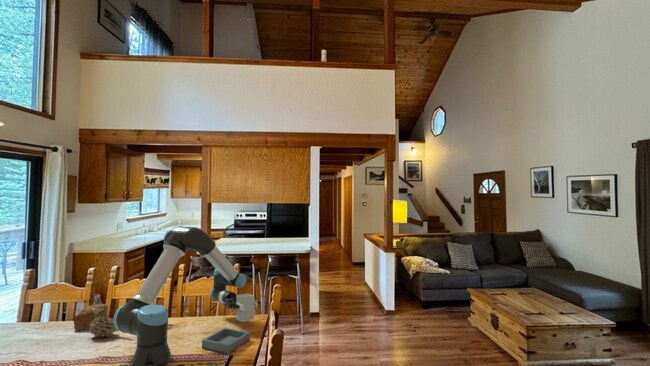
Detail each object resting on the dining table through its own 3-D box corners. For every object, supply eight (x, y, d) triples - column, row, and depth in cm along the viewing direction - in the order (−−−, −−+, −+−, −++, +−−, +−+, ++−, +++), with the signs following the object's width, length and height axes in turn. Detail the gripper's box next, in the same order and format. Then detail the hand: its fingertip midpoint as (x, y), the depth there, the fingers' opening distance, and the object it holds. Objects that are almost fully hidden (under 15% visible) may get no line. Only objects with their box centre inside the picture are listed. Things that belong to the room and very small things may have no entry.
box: (201, 348, 149) (202, 339, 149) (224, 335, 163) (224, 327, 164) (228, 354, 143) (228, 345, 143) (249, 340, 157) (249, 332, 158)
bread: (94, 329, 172) (95, 310, 172) (71, 331, 169) (72, 312, 170) (107, 317, 190) (108, 300, 190) (87, 319, 187) (88, 302, 187)
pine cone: (82, 340, 157) (83, 320, 158) (96, 332, 167) (97, 313, 168) (124, 340, 157) (125, 320, 158) (136, 333, 166) (137, 314, 167)
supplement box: (247, 315, 175) (248, 292, 176) (254, 319, 170) (254, 295, 171) (235, 318, 170) (236, 295, 171) (241, 322, 165) (242, 298, 166)
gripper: (242, 300, 190) (265, 308, 175) (211, 308, 175) (233, 318, 159) (243, 287, 191) (265, 295, 175) (211, 294, 175) (233, 303, 160)
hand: (250, 306), depth 167 cm, fingers closed on supplement box, 8 cm apart
